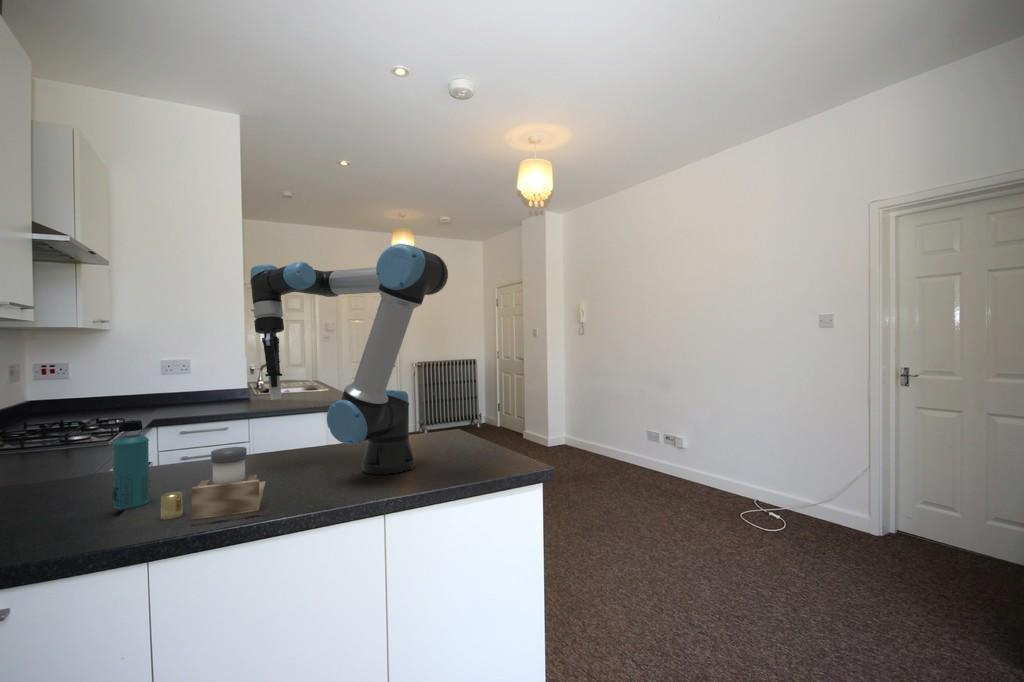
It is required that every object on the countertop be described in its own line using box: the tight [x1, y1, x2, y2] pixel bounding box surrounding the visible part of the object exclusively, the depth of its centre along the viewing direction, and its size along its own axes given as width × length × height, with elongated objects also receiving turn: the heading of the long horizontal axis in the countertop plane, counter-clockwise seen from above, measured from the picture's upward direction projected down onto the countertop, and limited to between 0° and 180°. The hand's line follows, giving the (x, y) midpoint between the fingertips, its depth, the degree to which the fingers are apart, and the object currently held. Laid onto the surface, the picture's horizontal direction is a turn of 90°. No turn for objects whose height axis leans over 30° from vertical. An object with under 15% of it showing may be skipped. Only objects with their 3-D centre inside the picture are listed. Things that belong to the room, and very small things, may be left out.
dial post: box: [160, 491, 183, 520], centre depth 97 cm, size 4×4×6 cm
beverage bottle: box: [111, 419, 151, 510], centre depth 104 cm, size 6×7×20 cm
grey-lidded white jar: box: [210, 446, 248, 485], centre depth 102 cm, size 7×7×12 cm
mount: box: [190, 474, 266, 528], centre depth 108 cm, size 12×24×8 cm, turn 24°
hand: (276, 399), depth 134 cm, fingers closed
